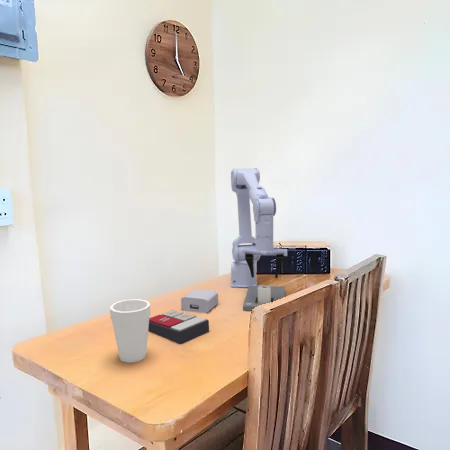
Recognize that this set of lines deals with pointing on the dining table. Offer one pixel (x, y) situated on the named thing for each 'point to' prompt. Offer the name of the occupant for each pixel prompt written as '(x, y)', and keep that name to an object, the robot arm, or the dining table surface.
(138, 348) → the foam cup
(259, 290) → the charger
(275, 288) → the socket board
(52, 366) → the dining table surface
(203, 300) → the charger
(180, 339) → the black button box
